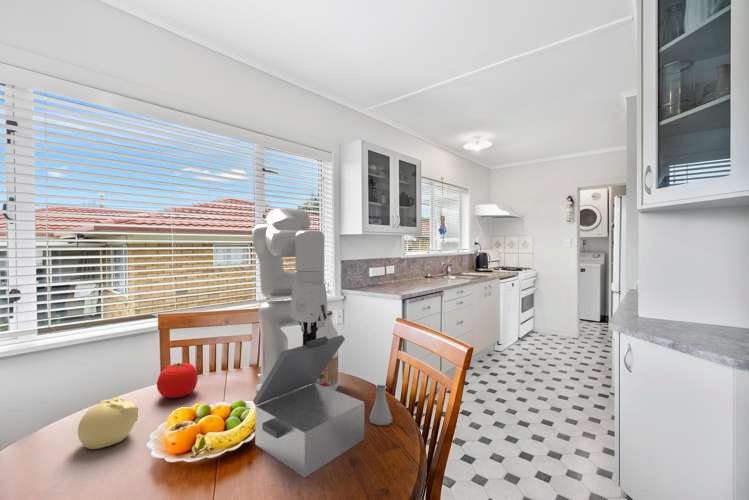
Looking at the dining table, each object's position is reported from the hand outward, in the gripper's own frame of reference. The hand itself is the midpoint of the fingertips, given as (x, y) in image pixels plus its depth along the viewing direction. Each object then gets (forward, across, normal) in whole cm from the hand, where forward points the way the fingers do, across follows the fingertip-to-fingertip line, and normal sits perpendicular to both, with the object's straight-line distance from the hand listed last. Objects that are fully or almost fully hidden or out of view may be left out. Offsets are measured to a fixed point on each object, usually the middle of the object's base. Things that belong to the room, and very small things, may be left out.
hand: (309, 346), depth 90 cm
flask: (+25, +8, +21) cm, 34 cm away
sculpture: (+25, -40, -34) cm, 59 cm away
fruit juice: (+25, -22, +26) cm, 43 cm away
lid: (+7, -3, 0) cm, 7 cm away
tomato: (+26, -56, -11) cm, 63 cm away
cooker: (+25, +1, 0) cm, 25 cm away
